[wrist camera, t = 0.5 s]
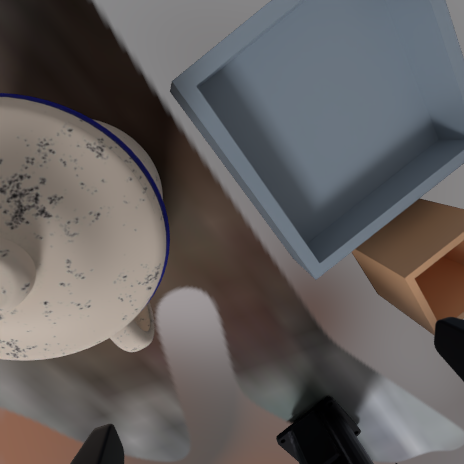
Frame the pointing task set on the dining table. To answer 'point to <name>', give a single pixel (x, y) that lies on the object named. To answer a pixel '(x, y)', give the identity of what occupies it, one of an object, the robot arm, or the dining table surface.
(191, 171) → the dining table surface
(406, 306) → the small crate
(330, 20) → the big crate
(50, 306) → the teacup with lid
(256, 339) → the dining table surface
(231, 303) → the dining table surface
